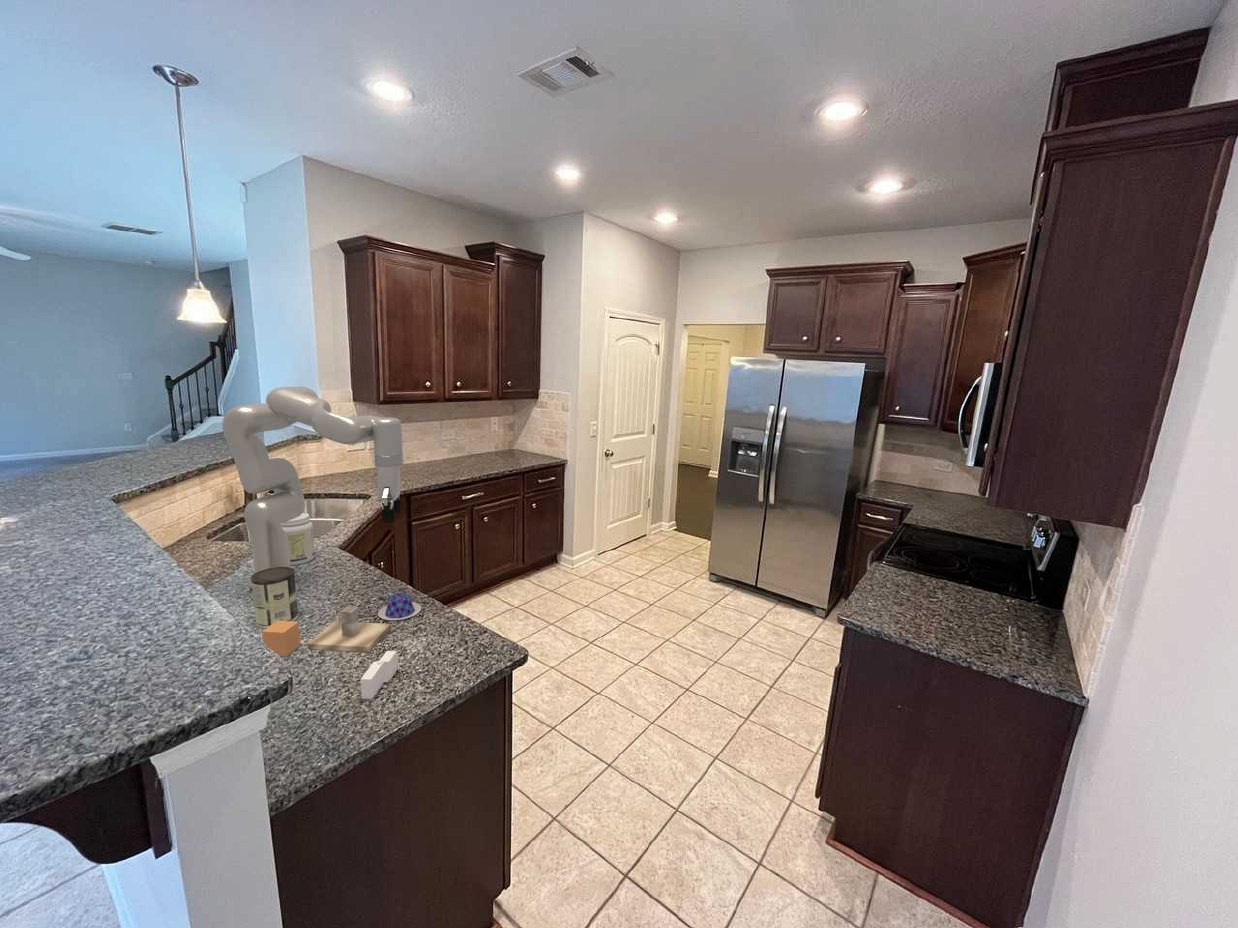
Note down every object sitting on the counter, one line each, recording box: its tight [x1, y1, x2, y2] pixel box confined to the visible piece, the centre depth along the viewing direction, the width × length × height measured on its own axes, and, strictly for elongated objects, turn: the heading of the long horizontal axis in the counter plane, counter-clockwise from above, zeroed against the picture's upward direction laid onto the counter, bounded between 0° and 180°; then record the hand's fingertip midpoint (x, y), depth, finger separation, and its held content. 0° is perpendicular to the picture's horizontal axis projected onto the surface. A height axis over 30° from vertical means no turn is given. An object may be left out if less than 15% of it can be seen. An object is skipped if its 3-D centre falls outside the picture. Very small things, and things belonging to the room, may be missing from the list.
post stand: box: [307, 606, 392, 653], centre depth 136 cm, size 16×12×8 cm
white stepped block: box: [360, 650, 398, 700], centre depth 119 cm, size 15×11×6 cm
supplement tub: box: [281, 512, 316, 566], centre depth 187 cm, size 12×12×17 cm
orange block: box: [261, 620, 301, 658], centre depth 130 cm, size 6×6×7 cm
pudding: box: [377, 592, 422, 621], centre depth 152 cm, size 12×12×5 cm
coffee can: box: [250, 567, 299, 629], centre depth 144 cm, size 10×10×14 cm
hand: (391, 517), depth 150 cm, fingers open, 9 cm apart
